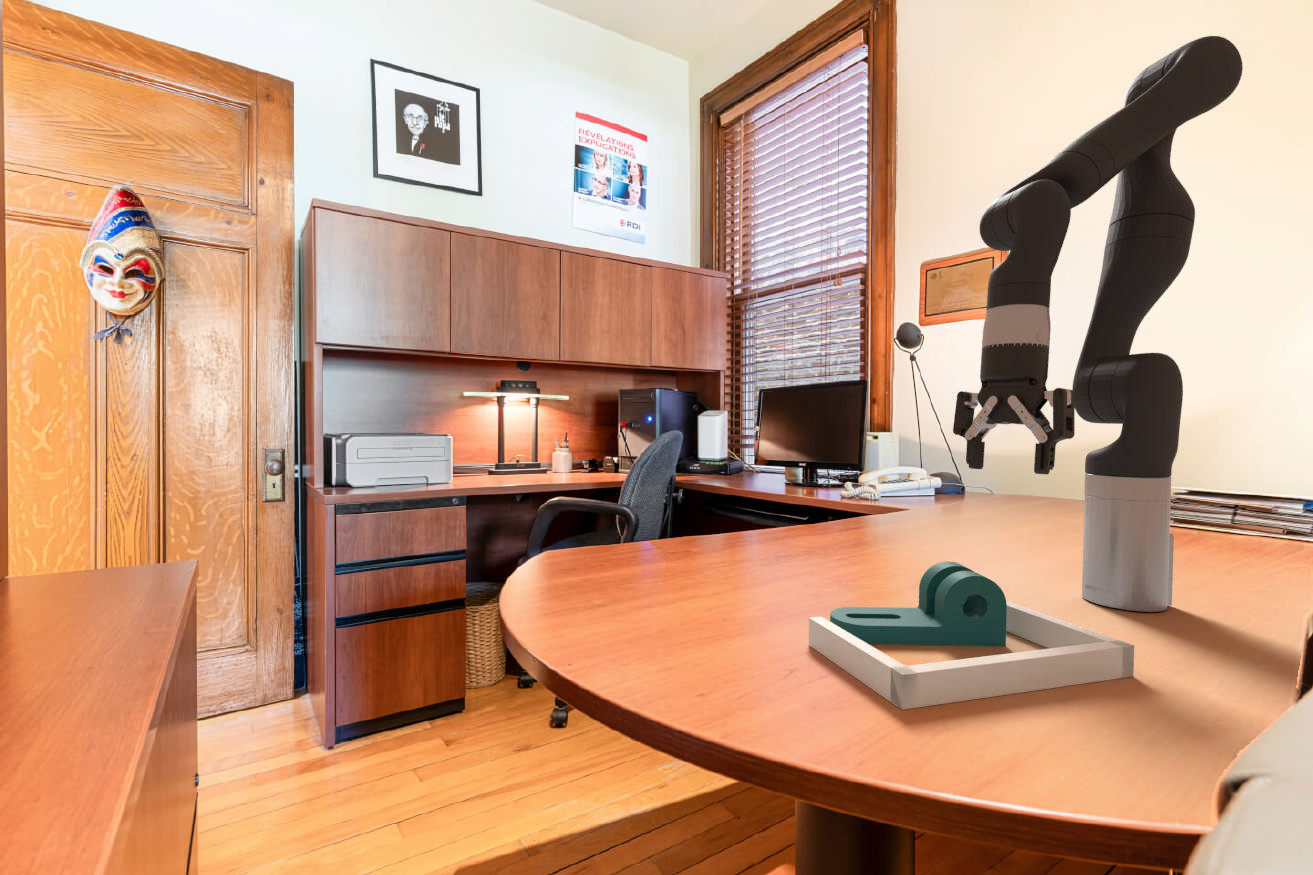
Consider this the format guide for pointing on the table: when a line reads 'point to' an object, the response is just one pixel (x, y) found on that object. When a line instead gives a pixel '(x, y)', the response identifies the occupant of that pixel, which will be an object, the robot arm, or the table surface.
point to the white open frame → (982, 662)
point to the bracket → (935, 613)
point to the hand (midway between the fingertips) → (1007, 471)
